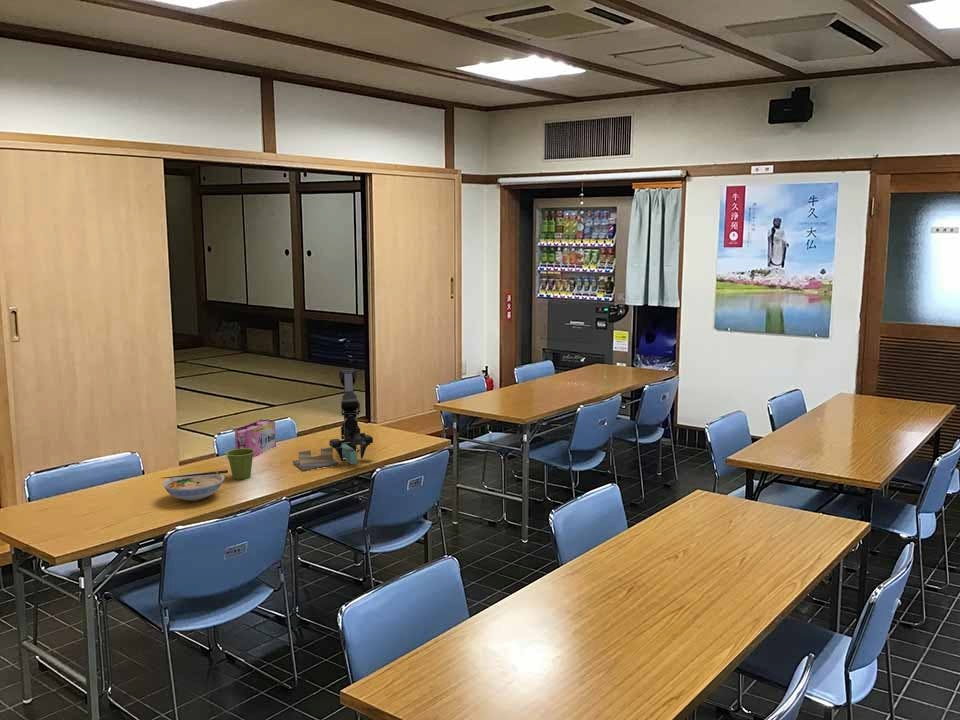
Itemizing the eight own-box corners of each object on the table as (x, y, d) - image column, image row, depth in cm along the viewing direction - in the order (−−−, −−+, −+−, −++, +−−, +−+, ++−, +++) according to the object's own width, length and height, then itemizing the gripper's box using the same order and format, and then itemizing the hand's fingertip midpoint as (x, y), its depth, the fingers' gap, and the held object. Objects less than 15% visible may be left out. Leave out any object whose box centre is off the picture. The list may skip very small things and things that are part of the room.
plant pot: (223, 482, 334) (222, 455, 333) (232, 474, 346) (230, 448, 345) (252, 481, 335) (250, 455, 333) (259, 473, 346) (258, 448, 345)
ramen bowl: (157, 510, 299) (155, 489, 297) (164, 493, 320) (162, 473, 319) (227, 504, 305) (226, 483, 304) (229, 487, 327) (228, 467, 326)
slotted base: (292, 463, 362) (292, 447, 361) (329, 457, 370) (328, 443, 369) (302, 471, 348) (301, 455, 347) (340, 465, 356) (339, 450, 355)
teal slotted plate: (338, 456, 373) (337, 443, 372) (344, 455, 375) (343, 442, 374) (350, 465, 357) (350, 452, 357) (357, 464, 359) (356, 451, 358)
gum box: (248, 459, 369) (246, 431, 368) (233, 458, 372) (231, 430, 370) (276, 447, 392) (275, 420, 390) (262, 446, 394) (261, 419, 392)
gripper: (336, 431, 347) (337, 467, 349) (376, 426, 355) (377, 461, 357) (328, 427, 356) (329, 461, 359) (368, 422, 365) (369, 455, 367)
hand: (352, 459), depth 360 cm, fingers open, 9 cm apart
